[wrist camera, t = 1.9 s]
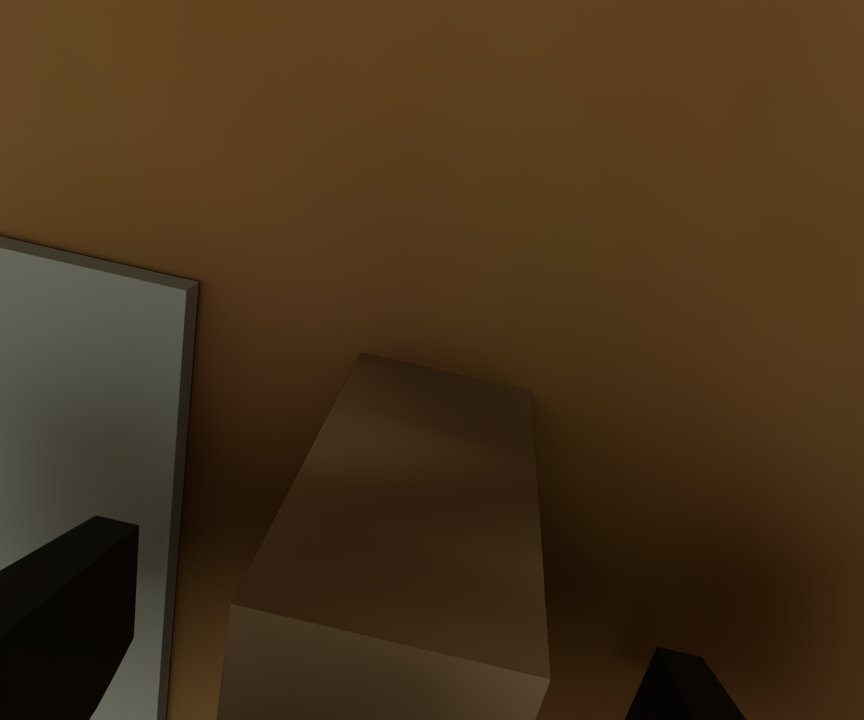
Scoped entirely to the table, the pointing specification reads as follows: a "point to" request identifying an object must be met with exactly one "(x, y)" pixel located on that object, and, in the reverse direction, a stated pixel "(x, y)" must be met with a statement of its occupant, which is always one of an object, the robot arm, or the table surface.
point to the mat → (98, 429)
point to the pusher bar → (400, 562)
